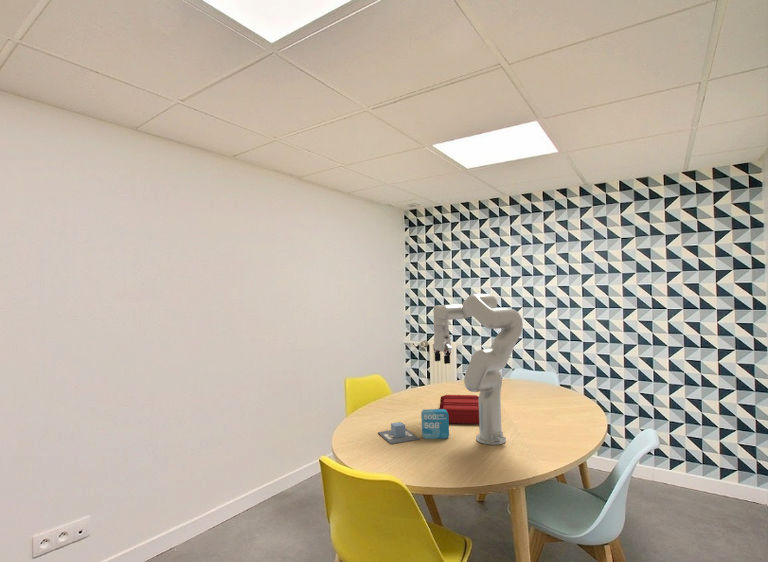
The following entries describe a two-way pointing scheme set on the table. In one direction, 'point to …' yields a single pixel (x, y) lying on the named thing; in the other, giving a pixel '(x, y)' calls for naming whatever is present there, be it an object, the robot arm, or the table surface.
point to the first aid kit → (461, 408)
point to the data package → (435, 423)
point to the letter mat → (393, 440)
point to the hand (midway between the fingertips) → (442, 362)
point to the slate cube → (398, 429)
